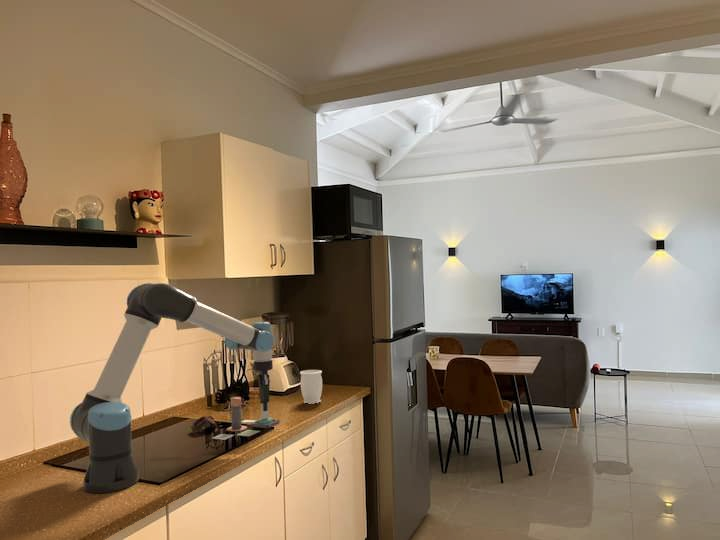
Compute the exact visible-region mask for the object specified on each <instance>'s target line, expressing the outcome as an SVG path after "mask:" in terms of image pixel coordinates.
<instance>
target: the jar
mask: <svg viewBox="0 0 720 540" xmlns="http://www.w3.org/2000/svg"><path fill="white" fill-rule="evenodd" d="M322 373H323V371H322V370H320V369H306V370H301V371H300V373H299V374H300V375H301V376H300V389H301V394H302V398H303V402H304V403H303V404H305V403H308V404H307V405H315V403H317V404H319V402H320V403H321V402H322V400H321V399H320V398H321V396H322V392H323V378H322Z"/></svg>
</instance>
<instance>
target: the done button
mask: <svg viewBox="0 0 720 540" xmlns="http://www.w3.org/2000/svg"><path fill="white" fill-rule="evenodd" d="M273 419H274V418H273V417H271V416H269V418H268V419H261V417H259V418H258V419H257V420H256V421H258V424H269V423H272V422H273Z"/></svg>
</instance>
